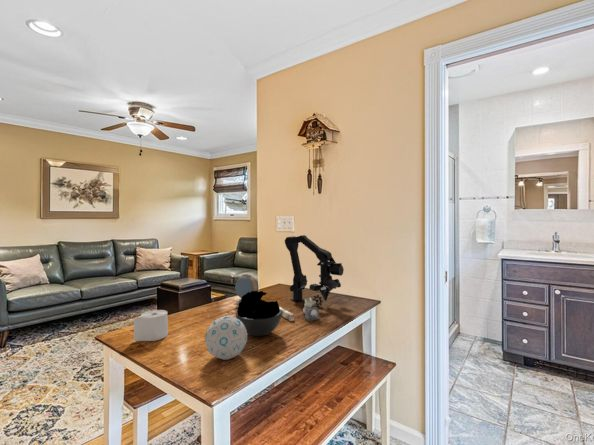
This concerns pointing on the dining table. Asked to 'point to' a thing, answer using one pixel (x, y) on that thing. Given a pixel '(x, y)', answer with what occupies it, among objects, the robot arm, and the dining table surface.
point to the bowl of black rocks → (258, 314)
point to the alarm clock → (245, 286)
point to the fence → (287, 314)
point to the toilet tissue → (151, 326)
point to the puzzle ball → (226, 337)
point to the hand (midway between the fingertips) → (325, 300)
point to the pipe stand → (311, 313)
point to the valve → (315, 301)
